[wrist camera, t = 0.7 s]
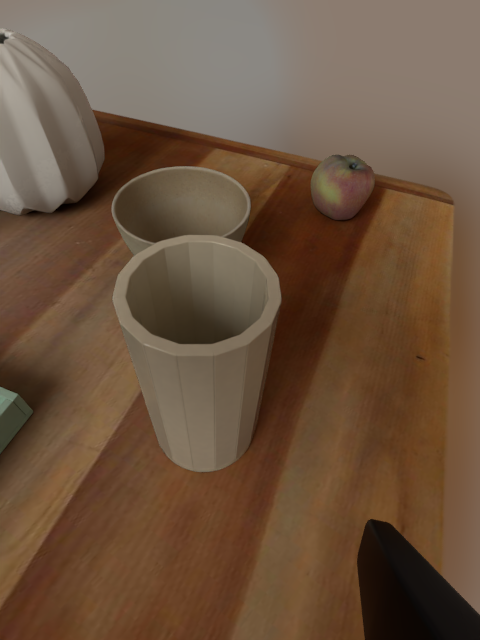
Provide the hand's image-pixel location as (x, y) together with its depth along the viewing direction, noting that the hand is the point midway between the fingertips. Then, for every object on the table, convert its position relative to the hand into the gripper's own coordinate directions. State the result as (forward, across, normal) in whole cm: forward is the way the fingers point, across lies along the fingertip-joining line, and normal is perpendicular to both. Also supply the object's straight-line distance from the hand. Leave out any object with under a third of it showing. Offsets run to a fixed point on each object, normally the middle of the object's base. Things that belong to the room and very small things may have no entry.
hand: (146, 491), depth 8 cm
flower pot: (+26, +6, -1) cm, 26 cm away
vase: (+32, +24, -6) cm, 40 cm away
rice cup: (+15, +1, +7) cm, 17 cm away
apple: (+35, -7, -9) cm, 37 cm away
